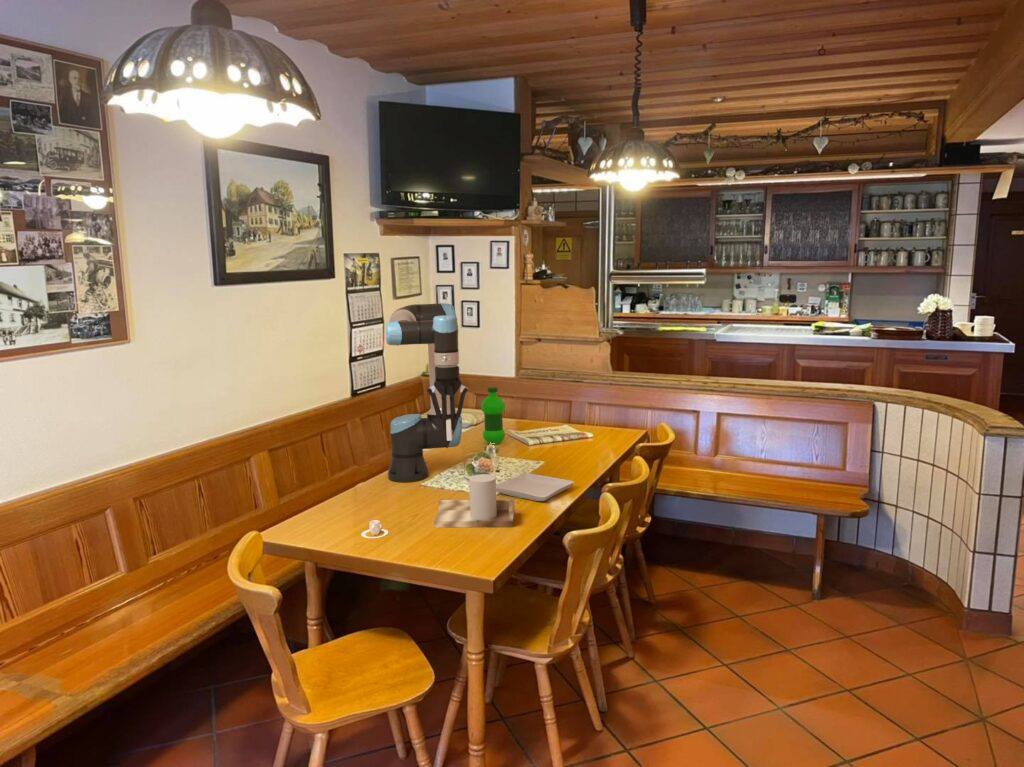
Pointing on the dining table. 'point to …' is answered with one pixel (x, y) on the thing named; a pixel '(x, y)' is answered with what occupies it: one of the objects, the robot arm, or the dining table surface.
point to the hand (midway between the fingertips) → (449, 439)
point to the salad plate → (533, 486)
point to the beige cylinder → (482, 497)
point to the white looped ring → (374, 529)
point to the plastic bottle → (493, 417)
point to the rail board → (459, 515)
